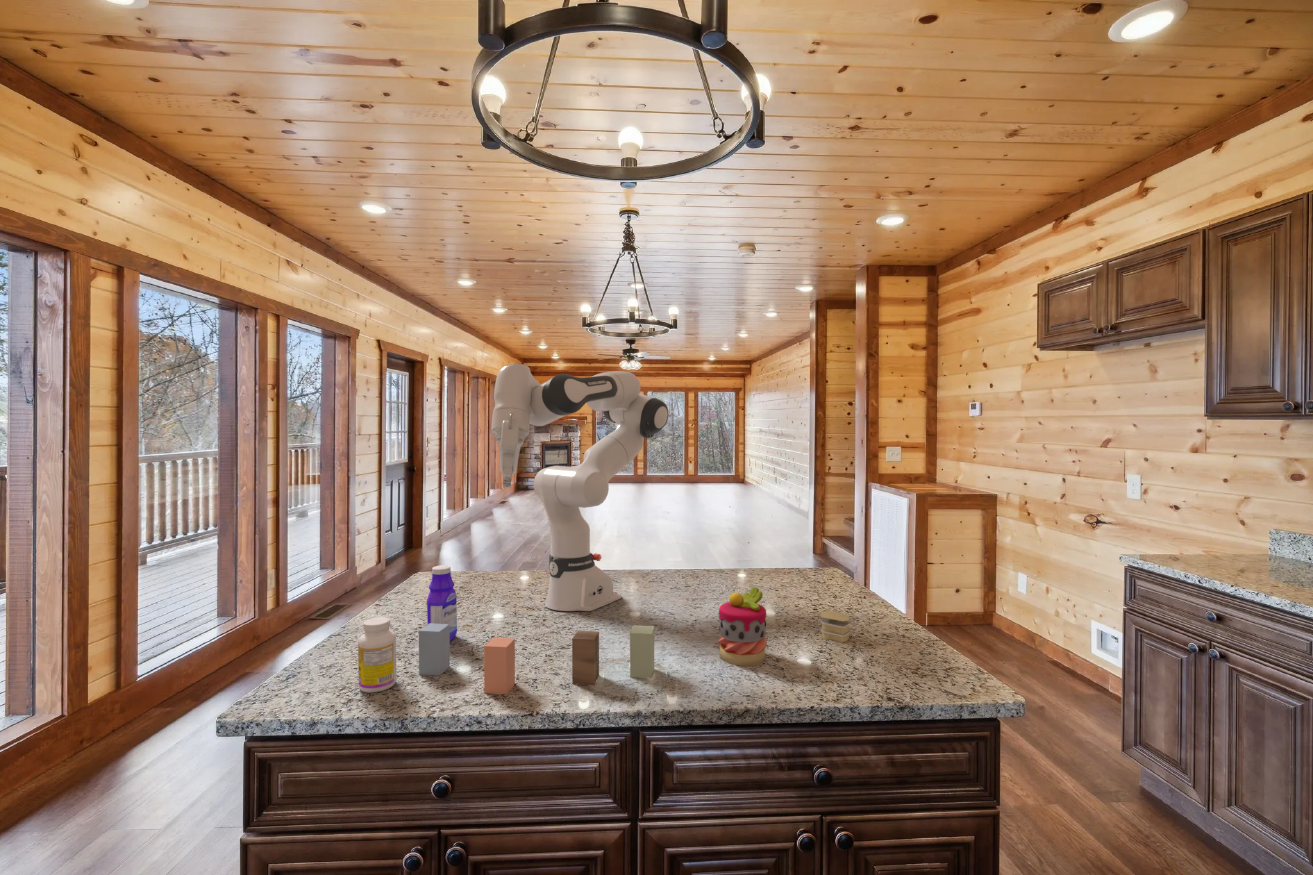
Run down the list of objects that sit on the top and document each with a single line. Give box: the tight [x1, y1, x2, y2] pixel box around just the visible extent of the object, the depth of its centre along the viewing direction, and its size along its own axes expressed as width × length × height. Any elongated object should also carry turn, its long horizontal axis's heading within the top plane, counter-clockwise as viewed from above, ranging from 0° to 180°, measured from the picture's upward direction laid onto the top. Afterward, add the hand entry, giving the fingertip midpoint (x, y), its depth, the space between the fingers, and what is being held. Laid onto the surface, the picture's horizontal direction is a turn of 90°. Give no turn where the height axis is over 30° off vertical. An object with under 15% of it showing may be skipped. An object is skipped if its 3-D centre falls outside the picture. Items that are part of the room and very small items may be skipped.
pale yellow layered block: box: [820, 610, 852, 644], centre depth 139 cm, size 10×9×6 cm
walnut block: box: [571, 630, 600, 686], centre depth 116 cm, size 4×4×9 cm
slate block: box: [418, 623, 451, 677], centre depth 120 cm, size 4×4×9 cm
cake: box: [717, 586, 768, 667], centre depth 127 cm, size 10×11×15 cm
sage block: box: [629, 625, 655, 679], centre depth 119 cm, size 4×4×9 cm
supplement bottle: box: [357, 616, 397, 694], centre depth 113 cm, size 7×7×13 cm
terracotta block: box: [483, 637, 516, 695], centre depth 112 cm, size 4×4×9 cm
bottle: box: [426, 564, 458, 641], centre depth 137 cm, size 7×6×17 cm
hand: (507, 481), depth 134 cm, fingers open, 8 cm apart
